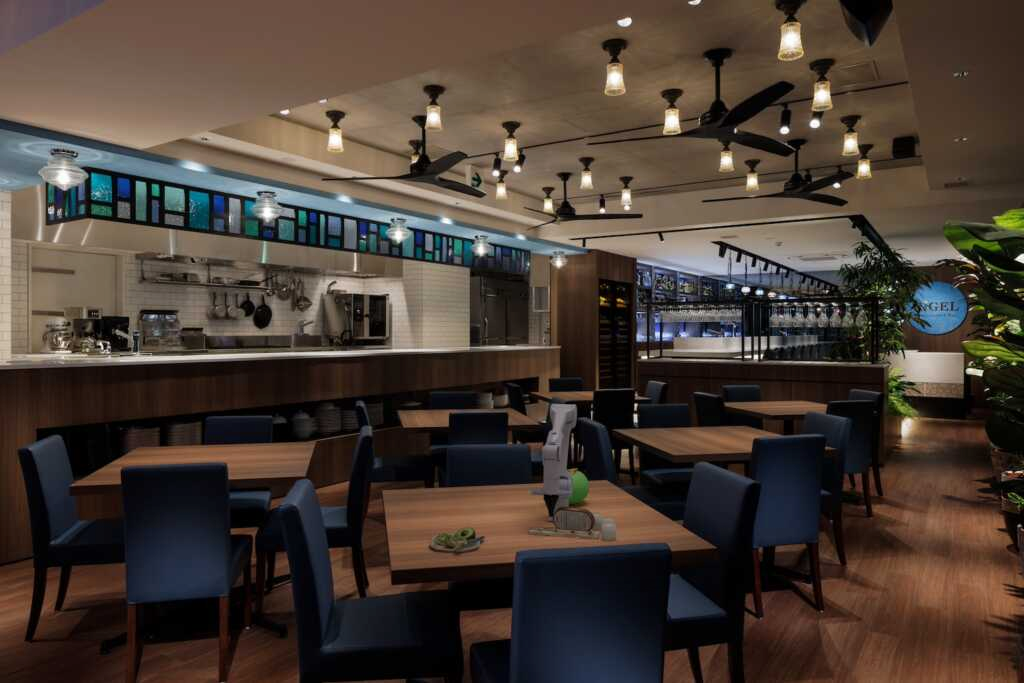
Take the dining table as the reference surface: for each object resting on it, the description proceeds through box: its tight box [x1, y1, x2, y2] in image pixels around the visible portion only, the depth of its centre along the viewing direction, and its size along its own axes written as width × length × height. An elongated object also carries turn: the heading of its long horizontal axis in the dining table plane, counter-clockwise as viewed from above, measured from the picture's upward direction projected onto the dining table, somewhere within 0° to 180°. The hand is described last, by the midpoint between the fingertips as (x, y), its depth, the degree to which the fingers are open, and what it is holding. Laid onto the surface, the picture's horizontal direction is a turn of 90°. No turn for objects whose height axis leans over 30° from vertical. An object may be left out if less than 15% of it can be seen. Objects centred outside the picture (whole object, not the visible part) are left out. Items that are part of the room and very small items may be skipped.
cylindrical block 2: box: [599, 516, 616, 535], centre depth 244 cm, size 5×5×5 cm
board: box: [528, 527, 600, 540], centre depth 241 cm, size 5×24×1 cm, turn 77°
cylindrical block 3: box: [600, 522, 617, 542], centre depth 237 cm, size 5×5×5 cm
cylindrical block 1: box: [591, 512, 604, 531], centre depth 250 cm, size 5×5×5 cm
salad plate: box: [429, 526, 486, 553], centre depth 227 cm, size 19×18×5 cm
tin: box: [552, 506, 595, 532], centre depth 245 cm, size 15×3×8 cm, turn 70°
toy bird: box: [566, 468, 590, 505], centre depth 288 cm, size 18×17×15 cm
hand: (551, 515), depth 248 cm, fingers closed
